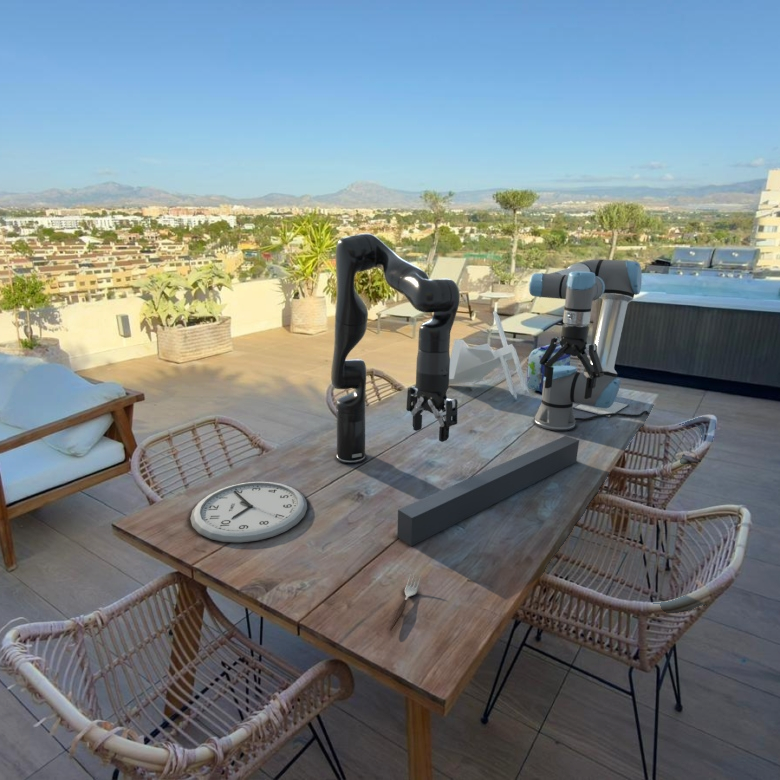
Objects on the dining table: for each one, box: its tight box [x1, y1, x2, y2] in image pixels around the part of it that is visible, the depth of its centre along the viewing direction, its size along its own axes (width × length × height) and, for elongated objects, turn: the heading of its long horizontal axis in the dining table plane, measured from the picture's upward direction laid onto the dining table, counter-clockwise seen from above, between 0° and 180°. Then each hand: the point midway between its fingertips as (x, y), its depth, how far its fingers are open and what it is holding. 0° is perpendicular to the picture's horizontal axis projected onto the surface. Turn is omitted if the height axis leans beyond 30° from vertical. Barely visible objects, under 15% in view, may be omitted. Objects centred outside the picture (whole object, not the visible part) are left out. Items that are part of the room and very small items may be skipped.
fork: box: [389, 573, 422, 632], centre depth 105 cm, size 3×16×2 cm, turn 160°
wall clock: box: [190, 481, 308, 544], centre depth 139 cm, size 30×2×30 cm
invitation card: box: [573, 401, 629, 418], centre depth 226 cm, size 21×1×15 cm
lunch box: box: [526, 344, 572, 394], centre depth 248 cm, size 26×11×21 cm, turn 135°
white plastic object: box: [449, 310, 531, 400], centre depth 245 cm, size 37×45×31 cm
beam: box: [396, 435, 580, 547], centre depth 149 cm, size 75×5×8 cm, turn 131°
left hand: (430, 435), depth 123 cm, fingers open, 8 cm apart
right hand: (567, 392), depth 162 cm, fingers open, 13 cm apart
